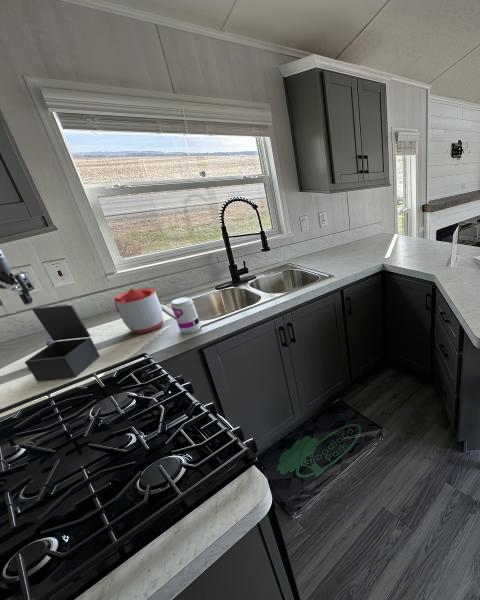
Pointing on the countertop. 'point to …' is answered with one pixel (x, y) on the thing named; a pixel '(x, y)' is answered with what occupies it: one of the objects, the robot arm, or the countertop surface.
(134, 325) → the citrus juicer
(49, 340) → the eagle figurine
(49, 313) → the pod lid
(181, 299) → the supplement can
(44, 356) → the black tray box
